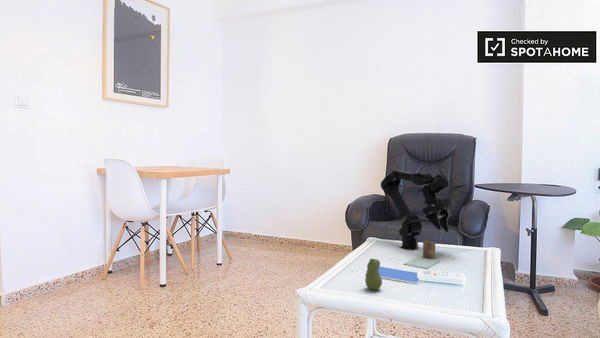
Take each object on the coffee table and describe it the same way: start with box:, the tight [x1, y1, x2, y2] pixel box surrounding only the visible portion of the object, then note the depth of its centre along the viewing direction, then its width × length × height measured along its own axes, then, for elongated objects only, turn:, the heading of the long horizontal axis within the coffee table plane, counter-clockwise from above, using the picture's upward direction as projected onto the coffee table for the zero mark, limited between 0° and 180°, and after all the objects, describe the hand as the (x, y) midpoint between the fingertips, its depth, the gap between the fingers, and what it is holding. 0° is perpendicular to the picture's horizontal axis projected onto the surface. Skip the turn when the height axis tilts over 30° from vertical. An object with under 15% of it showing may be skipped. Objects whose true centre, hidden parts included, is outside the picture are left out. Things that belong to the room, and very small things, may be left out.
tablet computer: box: [378, 266, 421, 285], centre depth 146 cm, size 19×13×1 cm, turn 59°
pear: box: [364, 258, 383, 291], centre depth 130 cm, size 6×5×10 cm
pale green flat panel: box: [403, 256, 440, 270], centre depth 163 cm, size 10×14×1 cm
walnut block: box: [422, 240, 436, 260], centre depth 172 cm, size 4×4×7 cm
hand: (443, 230), depth 171 cm, fingers open, 9 cm apart
